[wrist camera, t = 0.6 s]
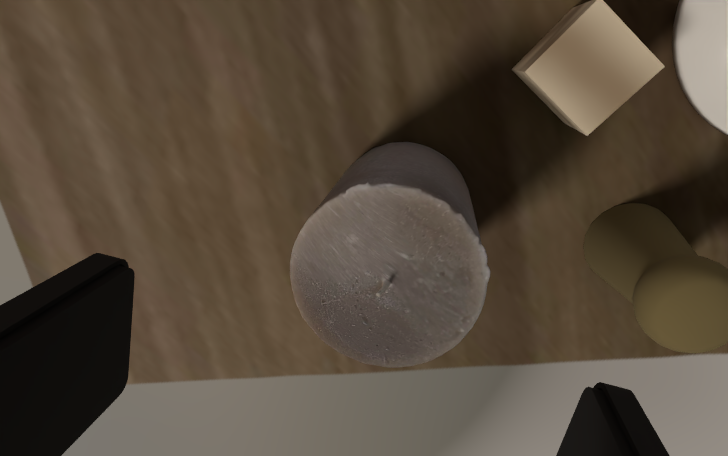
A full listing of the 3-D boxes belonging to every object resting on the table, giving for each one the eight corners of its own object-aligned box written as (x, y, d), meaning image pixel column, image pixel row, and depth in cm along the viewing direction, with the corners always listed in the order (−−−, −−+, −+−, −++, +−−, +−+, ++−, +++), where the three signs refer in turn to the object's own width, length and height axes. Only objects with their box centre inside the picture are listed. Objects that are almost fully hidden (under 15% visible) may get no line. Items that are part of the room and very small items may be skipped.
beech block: (572, 7, 32) (599, -4, 26) (626, 64, 33) (664, 66, 27) (511, 69, 34) (524, 71, 28) (563, 122, 34) (587, 136, 29)
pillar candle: (369, 284, 40) (332, 408, 26) (316, 169, 38) (244, 235, 23) (491, 241, 38) (524, 352, 23) (442, 116, 35) (446, 154, 21)
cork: (617, 299, 37) (683, 392, 27) (565, 239, 37) (612, 311, 26) (694, 249, 35) (797, 328, 25) (641, 184, 35) (725, 239, 24)
